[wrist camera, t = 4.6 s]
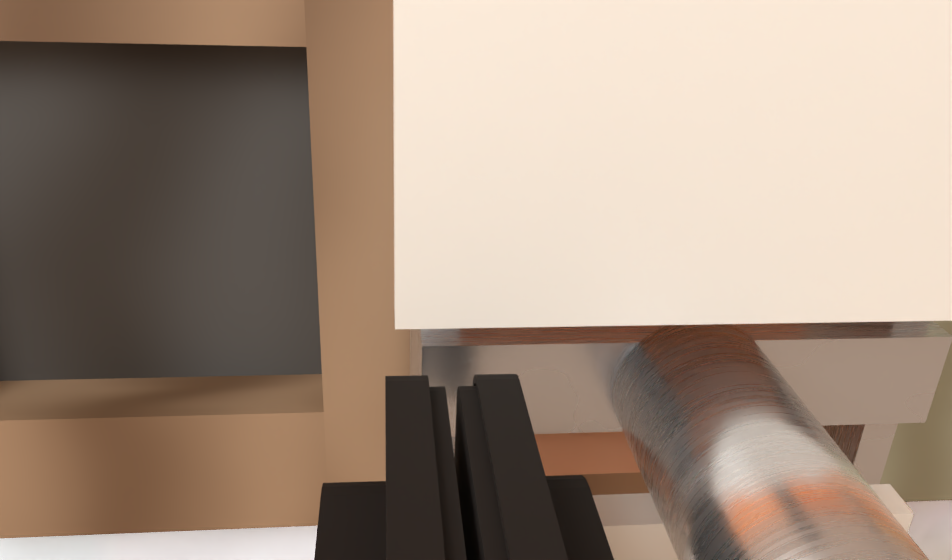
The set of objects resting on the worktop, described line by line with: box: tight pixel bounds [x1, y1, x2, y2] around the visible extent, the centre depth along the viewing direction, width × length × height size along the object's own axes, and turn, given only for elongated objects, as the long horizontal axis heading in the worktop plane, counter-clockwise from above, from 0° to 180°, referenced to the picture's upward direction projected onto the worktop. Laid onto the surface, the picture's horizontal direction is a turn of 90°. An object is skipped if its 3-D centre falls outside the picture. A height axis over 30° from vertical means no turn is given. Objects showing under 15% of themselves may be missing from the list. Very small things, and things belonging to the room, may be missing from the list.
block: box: [534, 432, 640, 476], centre depth 16 cm, size 6×6×4 cm
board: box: [0, 0, 952, 538], centre depth 19 cm, size 30×14×2 cm, turn 89°
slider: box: [410, 321, 952, 560], centre depth 13 cm, size 8×7×11 cm
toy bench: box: [393, 0, 952, 560], centre depth 15 cm, size 8×14×6 cm, turn 179°
